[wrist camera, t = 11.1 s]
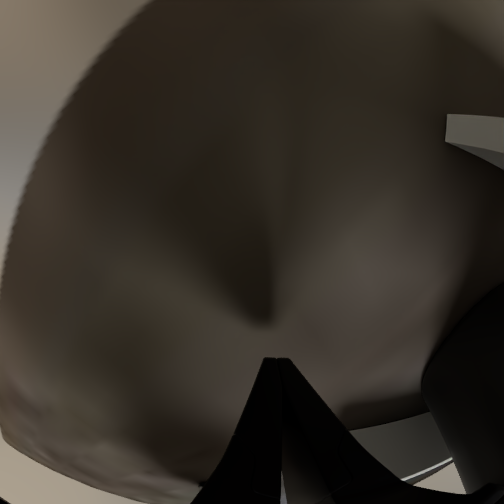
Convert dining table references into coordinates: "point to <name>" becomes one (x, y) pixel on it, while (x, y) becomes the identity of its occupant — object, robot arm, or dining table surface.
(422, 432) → the tray
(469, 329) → the mug
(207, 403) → the dining table surface
